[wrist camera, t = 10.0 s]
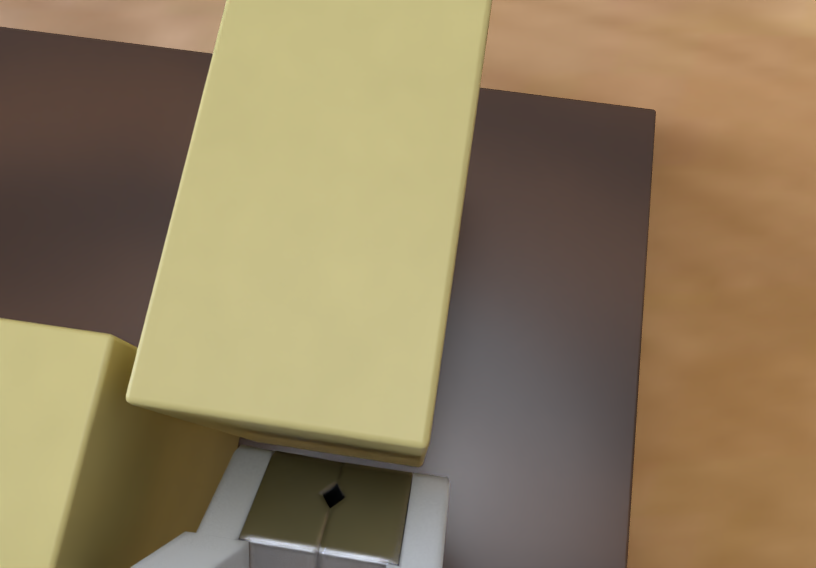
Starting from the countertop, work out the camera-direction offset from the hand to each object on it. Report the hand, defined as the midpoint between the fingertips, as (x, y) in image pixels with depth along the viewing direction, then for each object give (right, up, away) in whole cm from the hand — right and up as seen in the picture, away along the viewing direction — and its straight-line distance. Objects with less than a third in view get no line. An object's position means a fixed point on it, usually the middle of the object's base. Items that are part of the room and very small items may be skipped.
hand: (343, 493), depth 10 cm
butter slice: (0, +2, +5) cm, 6 cm away
